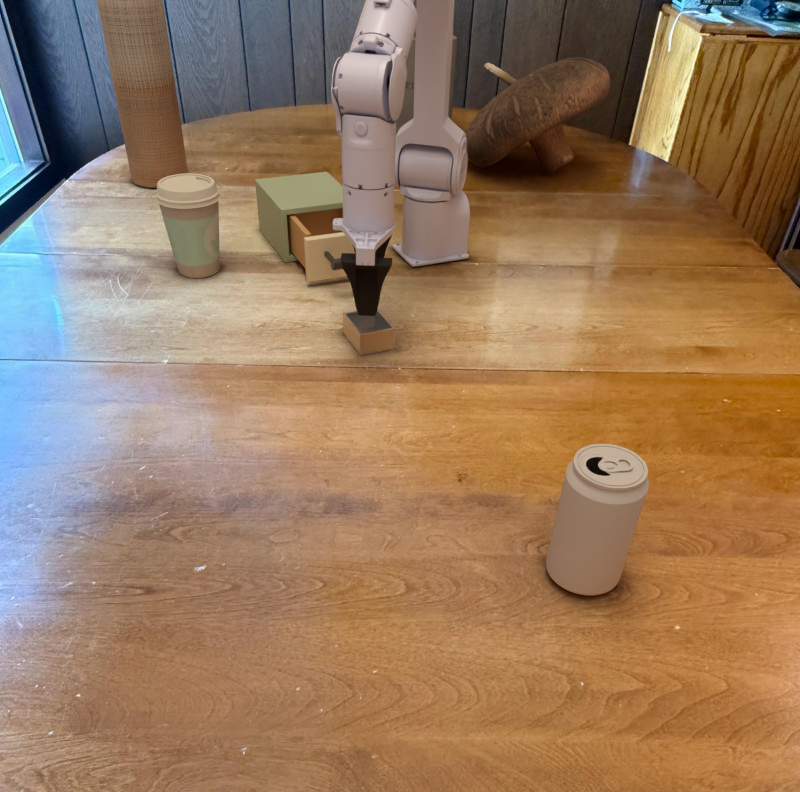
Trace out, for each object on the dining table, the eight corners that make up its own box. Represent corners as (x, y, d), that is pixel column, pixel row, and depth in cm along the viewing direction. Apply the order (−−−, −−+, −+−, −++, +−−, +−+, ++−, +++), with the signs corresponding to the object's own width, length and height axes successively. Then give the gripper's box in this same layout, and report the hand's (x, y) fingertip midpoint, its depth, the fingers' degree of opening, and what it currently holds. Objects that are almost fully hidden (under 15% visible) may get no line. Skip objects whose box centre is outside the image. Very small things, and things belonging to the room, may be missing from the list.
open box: (376, 327, 99) (376, 307, 98) (394, 349, 95) (395, 328, 94) (342, 333, 98) (342, 312, 96) (360, 355, 94) (359, 334, 92)
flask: (381, 135, 162) (382, 22, 149) (380, 127, 166) (381, 17, 153) (452, 137, 163) (459, 24, 149) (449, 129, 167) (456, 19, 154)
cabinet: (358, 252, 117) (358, 200, 112) (284, 262, 114) (281, 209, 108) (328, 220, 126) (327, 171, 121) (259, 229, 123) (254, 179, 118)
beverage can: (537, 550, 69) (559, 440, 61) (607, 547, 70) (638, 438, 62) (553, 603, 64) (580, 491, 56) (628, 599, 65) (665, 488, 57)
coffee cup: (216, 285, 107) (204, 196, 99) (158, 278, 108) (141, 189, 100) (238, 261, 114) (228, 175, 105) (183, 254, 115) (169, 169, 107)
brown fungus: (475, 142, 163) (544, 19, 148) (560, 207, 159) (638, 87, 145) (415, 135, 140) (489, -12, 126) (513, 210, 137) (600, 68, 123)
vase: (200, 178, 140) (175, -9, 121) (160, 193, 133) (126, -1, 115) (161, 167, 143) (130, -15, 125) (120, 181, 137) (81, -9, 119)
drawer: (390, 284, 107) (391, 242, 103) (319, 295, 104) (317, 253, 100) (347, 239, 118) (346, 200, 115) (282, 248, 115) (279, 208, 111)
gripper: (336, 159, 89) (339, 273, 98) (325, 203, 79) (330, 327, 88) (397, 161, 89) (395, 274, 98) (395, 206, 79) (392, 329, 88)
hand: (368, 299), depth 93 cm, fingers open, 7 cm apart
